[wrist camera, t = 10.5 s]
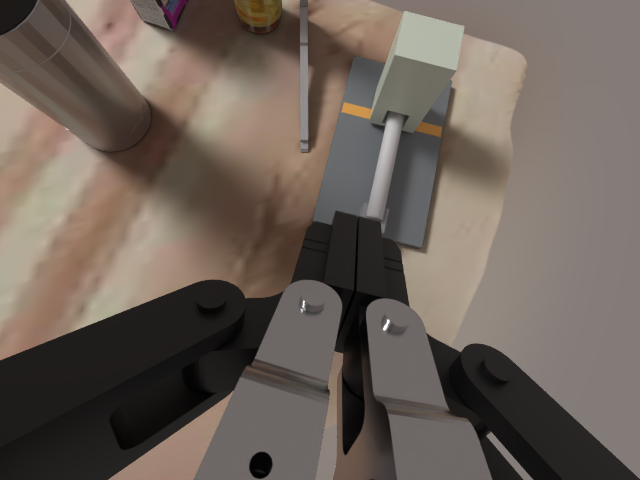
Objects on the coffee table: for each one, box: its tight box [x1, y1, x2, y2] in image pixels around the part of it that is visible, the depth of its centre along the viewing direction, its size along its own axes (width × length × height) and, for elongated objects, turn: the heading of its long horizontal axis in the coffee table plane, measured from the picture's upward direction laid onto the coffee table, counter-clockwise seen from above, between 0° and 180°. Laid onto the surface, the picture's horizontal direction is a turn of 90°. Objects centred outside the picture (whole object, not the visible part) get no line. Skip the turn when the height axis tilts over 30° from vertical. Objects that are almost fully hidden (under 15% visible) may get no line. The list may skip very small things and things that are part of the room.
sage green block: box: [369, 11, 464, 133], centre depth 35 cm, size 6×5×12 cm
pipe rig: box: [312, 56, 452, 249], centre depth 39 cm, size 14×24×4 cm, turn 166°
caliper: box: [300, 0, 308, 152], centre depth 39 cm, size 20×1×6 cm, turn 1°
